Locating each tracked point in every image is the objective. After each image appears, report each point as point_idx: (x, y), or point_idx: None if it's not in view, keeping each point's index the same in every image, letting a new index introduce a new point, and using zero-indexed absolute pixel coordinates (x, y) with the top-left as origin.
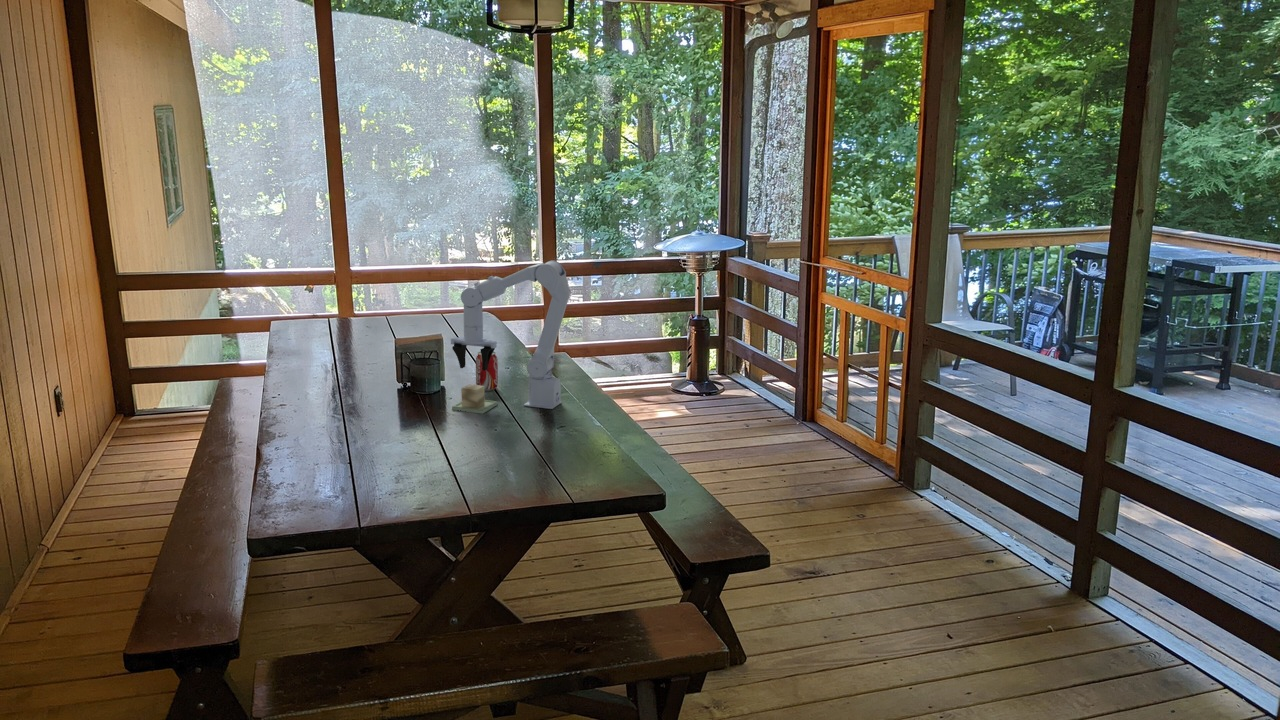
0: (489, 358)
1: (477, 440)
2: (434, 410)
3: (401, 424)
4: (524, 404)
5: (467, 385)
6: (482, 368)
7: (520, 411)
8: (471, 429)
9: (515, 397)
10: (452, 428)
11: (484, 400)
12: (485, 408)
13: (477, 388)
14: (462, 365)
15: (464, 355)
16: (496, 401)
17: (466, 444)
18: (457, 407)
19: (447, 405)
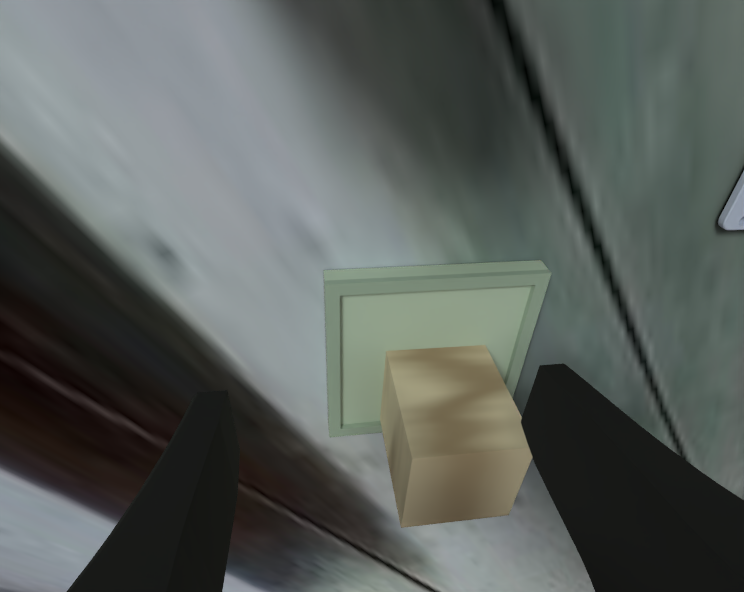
0: (694, 490)
1: (551, 565)
2: (248, 454)
3: (249, 580)
4: (727, 229)
5: (411, 480)
6: (530, 449)
7: (687, 310)
8: (508, 527)
9: (655, 15)
10: (441, 543)
11: (495, 366)
12: (512, 398)
13: (504, 494)
14: (235, 475)
15: (186, 572)
16: (547, 278)
17: (528, 587)
18: (361, 431)
19: (254, 377)
